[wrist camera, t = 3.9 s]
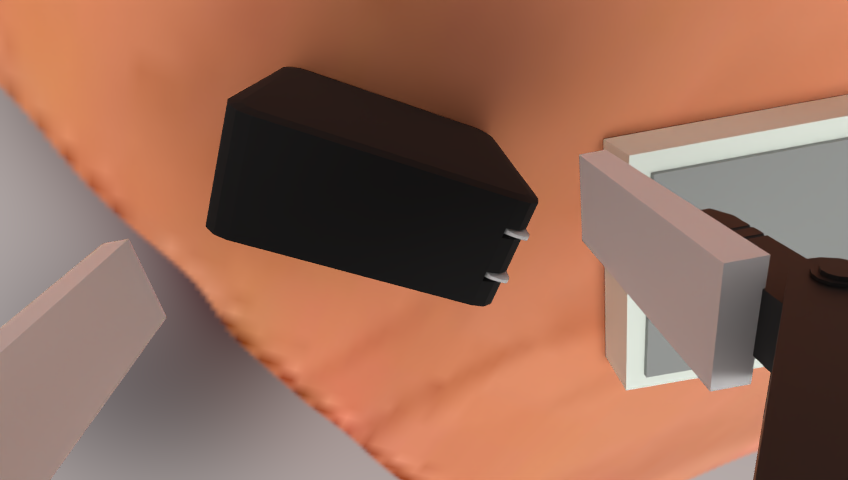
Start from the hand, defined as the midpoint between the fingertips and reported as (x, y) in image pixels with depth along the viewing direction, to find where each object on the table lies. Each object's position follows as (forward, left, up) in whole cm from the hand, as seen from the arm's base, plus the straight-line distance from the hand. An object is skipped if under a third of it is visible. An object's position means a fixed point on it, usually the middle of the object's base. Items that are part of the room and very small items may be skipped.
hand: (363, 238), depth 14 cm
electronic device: (0, 0, -11) cm, 11 cm away
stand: (+9, +18, -11) cm, 23 cm away
